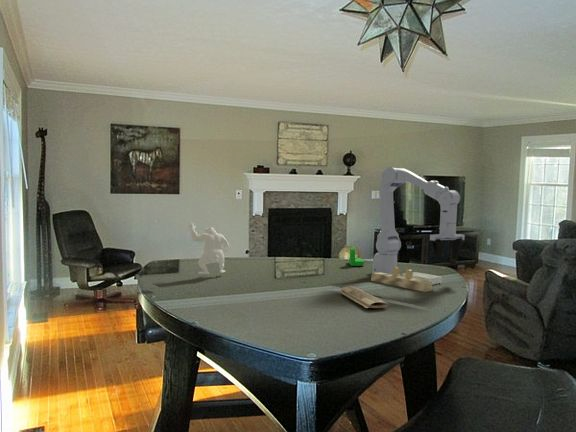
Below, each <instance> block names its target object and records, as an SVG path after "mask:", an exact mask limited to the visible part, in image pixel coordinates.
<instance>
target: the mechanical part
mask: <svg viewBox="0 0 576 432" xmlns="http://www.w3.org/2000/svg"><path fill="white" fill-rule="evenodd" d="M348 263H349V265H350V266H351V267H352V266H353V267H354V266H356V267H357V266H358V267H364V266H365V264H364V263H365V262H364V260H363V259H362V258H360V257H356V247H354V246H353V247H350V248H349V257H348Z"/></svg>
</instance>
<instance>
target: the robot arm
mask: <svg viewBox="0 0 576 432" xmlns="http://www.w3.org/2000/svg"><path fill="white" fill-rule="evenodd" d="M406 182H407V183H410V184H412V185H414V186H416V187H418V188H420V189H422V190H423V193H424V194H425V195H426V196H429V197H430V198H432V199H434V200H435V201H437V202H438V204H439V205H440V207H439V208H440V213H439V214H440V216H439V217H440V218H439V233H437V234H430V235H429V244H430V245H431V247H432V249H433V252H434V253H433V254H434V258H435V260H436V261H442V257H443V256H442V255H443V248H444V245H445V242H444V241H449V242H450V247H451V259H452V260H455V261H456V260H458V258H459V254H460V252H461V250H462V248H463V246H464V245H465V243H466V241H465V237H466V235H465V234H460V233H457V214H458V204H459V203H460V202H461V195H460V193H459V192H458V191H457V190H455V189H450V188H449V187H448V186H444V185H442V184H440V182H439V181H438V180H430V181H427V180H426V179H425V178H423V177H421V176H419V175H418V174H416V173H415V172H413V171H410V170H409V169H406V168H404V167H399V168H398V167H392V166H391V167H386V168H385V169H384V170H383V171H382V172H381V180H380V183H379V187H378V191H379V192H378V193H379V194H378V195H379V209H380V212H379V213H380V232H379V233H378V234H377V237H376V238H377V239H376V242H375V248H376V250H377V252H376V253H375V254H374V255H373V259H372V273H374V272H382V273H387V274H392V267H397V266H398V254H399V251H400V250H401V247H402V242H401V239H400V237H399V233H398V232H397V230H396V228H395V226H396V224H395V208H394V206H395V205H394V202H395V201H394V191H396V189H397V188H398V187H400V186H403V185H404V184H405V183H406ZM399 276H402V274H400V273H399Z"/></svg>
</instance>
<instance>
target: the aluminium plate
mask: <svg viewBox="0 0 576 432" xmlns="http://www.w3.org/2000/svg"><path fill="white" fill-rule="evenodd" d="M401 276H403V277H406V272H404V273H402V274H401ZM412 278H413V279H419V280H424V281H429V282H432V286H435V284H436V285H439V283H440V284H442V282H443V281H442V280H443V276H439V275H434V274H429V273H423V272H418V271H413V277H412Z"/></svg>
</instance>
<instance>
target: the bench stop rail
mask: <svg viewBox="0 0 576 432" xmlns="http://www.w3.org/2000/svg"><path fill="white" fill-rule="evenodd" d="M413 272H414V271H413V269H411V268H410V269H408V268H407V269H405V273H406V277H403V276H402V275H399V274H400V267H392V274H387V273H382V272H374V273H373V272H371V274H370V275H371V278H370V281H371V282H376V283H381V284H384V285H390V286H394V287H395V286H396V287H400V288H405V289H409V290H412V291H413V290H414V291H419V292H423V293H424V292H425V293H427V292H432V291H433V285H432V282H429V281H424V280H419V279H413V278H412V277H413Z"/></svg>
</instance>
